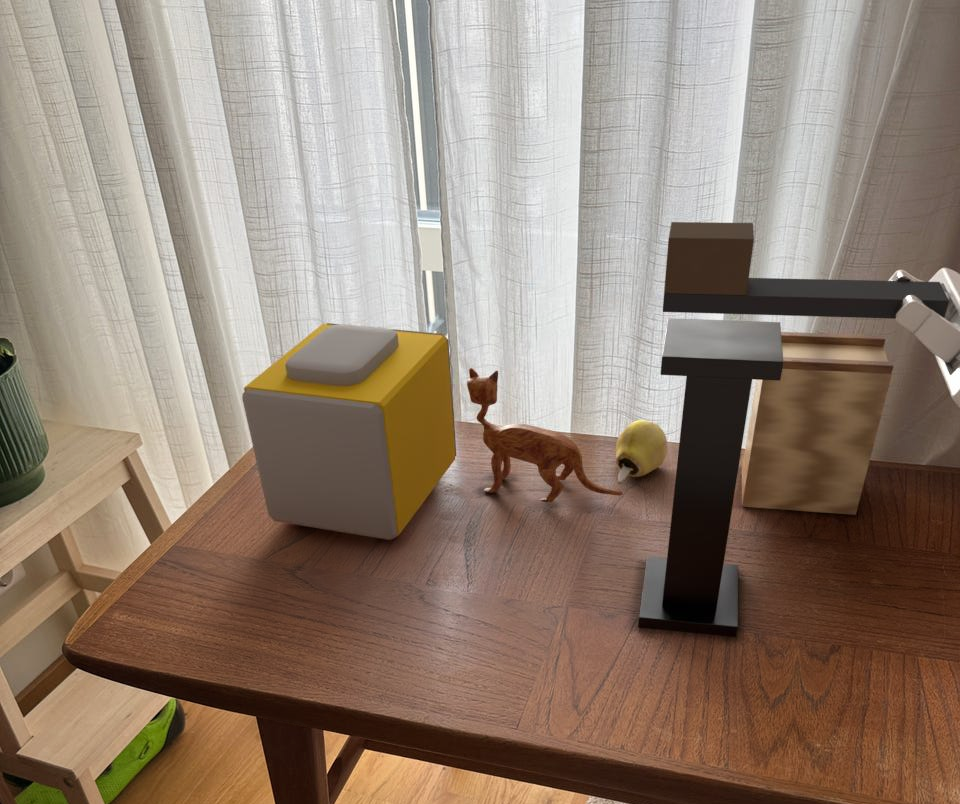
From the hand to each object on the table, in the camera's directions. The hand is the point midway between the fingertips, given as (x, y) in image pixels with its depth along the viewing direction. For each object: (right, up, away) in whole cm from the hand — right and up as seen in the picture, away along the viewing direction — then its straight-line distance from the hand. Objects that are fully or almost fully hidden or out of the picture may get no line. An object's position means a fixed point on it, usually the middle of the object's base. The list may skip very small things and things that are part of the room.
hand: (896, 293), depth 67 cm
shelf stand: (-10, -22, +22) cm, 32 cm away
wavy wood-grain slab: (+5, -9, +36) cm, 37 cm away
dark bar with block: (-7, 0, +2) cm, 7 cm away
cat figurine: (-23, -9, +39) cm, 46 cm away
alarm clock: (-44, -10, +39) cm, 59 cm away
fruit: (-12, -6, +41) cm, 43 cm away
